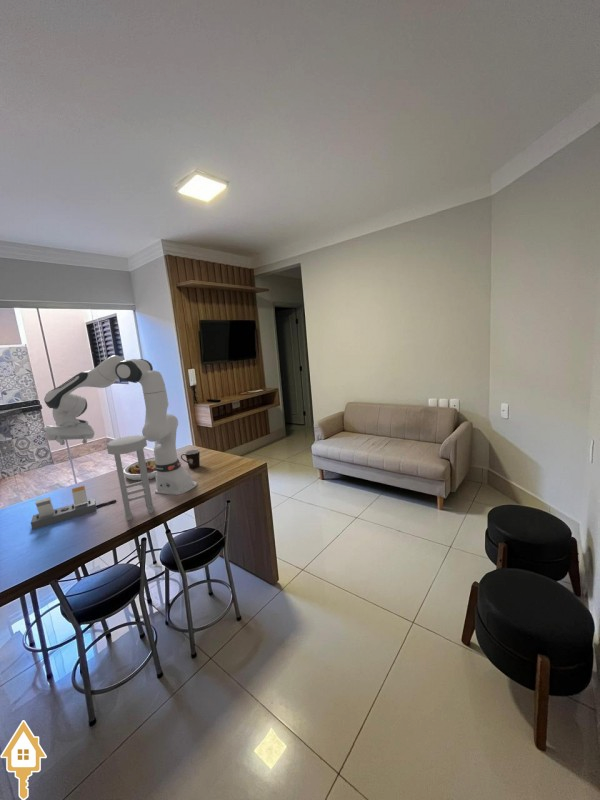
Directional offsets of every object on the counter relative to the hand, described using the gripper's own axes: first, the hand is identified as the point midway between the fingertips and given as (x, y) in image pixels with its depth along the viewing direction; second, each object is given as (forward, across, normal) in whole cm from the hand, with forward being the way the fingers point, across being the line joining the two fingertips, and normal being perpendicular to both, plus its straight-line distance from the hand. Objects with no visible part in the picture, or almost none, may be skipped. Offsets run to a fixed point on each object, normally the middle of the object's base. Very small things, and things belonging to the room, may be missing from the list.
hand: (74, 443), depth 156 cm
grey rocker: (+22, -10, +22) cm, 33 cm away
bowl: (+5, +45, +23) cm, 51 cm away
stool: (+45, +17, +4) cm, 49 cm away
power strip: (+26, 0, +22) cm, 34 cm away
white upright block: (+24, +2, +18) cm, 30 cm away
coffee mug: (+17, +62, +10) cm, 66 cm away
